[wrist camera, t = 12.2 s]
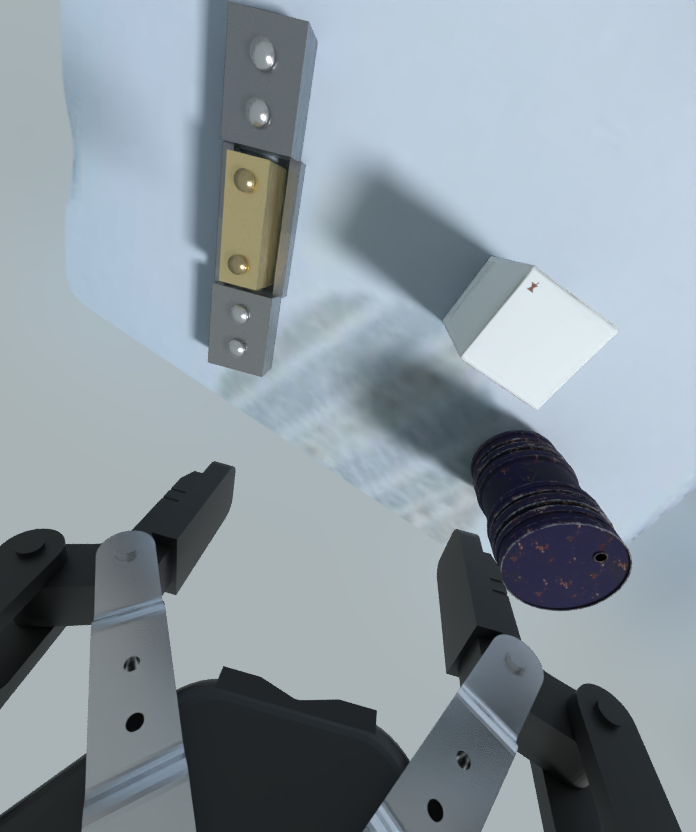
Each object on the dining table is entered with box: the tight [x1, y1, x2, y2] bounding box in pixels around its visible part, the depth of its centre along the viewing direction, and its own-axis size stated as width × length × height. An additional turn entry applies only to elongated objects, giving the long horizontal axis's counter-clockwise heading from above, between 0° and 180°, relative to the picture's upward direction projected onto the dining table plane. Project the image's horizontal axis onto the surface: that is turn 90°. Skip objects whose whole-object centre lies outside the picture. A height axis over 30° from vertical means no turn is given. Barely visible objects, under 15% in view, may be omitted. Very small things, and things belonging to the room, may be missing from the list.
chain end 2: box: [208, 216, 295, 377], centre depth 37 cm, size 14×7×4 cm, turn 167°
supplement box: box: [443, 256, 618, 410], centre depth 30 cm, size 7×7×13 cm
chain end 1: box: [218, 2, 317, 235], centre depth 31 cm, size 14×7×4 cm, turn 167°
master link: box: [219, 149, 287, 290], centre depth 33 cm, size 10×4×6 cm, turn 167°
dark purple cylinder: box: [471, 430, 632, 611], centre depth 36 cm, size 10×10×15 cm
